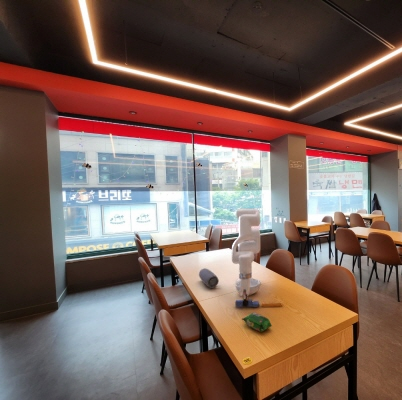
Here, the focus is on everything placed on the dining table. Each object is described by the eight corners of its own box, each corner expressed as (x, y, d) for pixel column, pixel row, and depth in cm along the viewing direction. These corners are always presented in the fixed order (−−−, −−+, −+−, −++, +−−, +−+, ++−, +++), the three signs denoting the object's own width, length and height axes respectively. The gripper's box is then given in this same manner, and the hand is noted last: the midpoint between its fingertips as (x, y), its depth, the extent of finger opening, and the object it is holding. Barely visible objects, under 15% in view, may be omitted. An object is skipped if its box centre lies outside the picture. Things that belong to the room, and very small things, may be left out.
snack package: (250, 318, 123) (250, 309, 123) (272, 328, 113) (272, 318, 113) (241, 324, 118) (240, 314, 118) (263, 335, 108) (263, 324, 108)
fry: (261, 306, 137) (261, 303, 137) (261, 305, 139) (261, 302, 139) (281, 306, 137) (281, 303, 137) (281, 304, 139) (281, 301, 139)
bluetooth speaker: (219, 287, 166) (219, 274, 166) (206, 290, 161) (206, 276, 161) (209, 278, 185) (209, 266, 185) (198, 281, 180) (198, 268, 180)
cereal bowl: (250, 286, 169) (250, 276, 169) (265, 292, 157) (265, 282, 157) (231, 293, 157) (230, 282, 157) (245, 300, 145) (245, 289, 145)
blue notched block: (235, 307, 134) (235, 302, 134) (236, 304, 139) (236, 299, 139) (259, 307, 135) (259, 301, 135) (259, 303, 140) (259, 298, 140)
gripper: (240, 271, 145) (241, 299, 145) (237, 279, 129) (237, 312, 129) (252, 270, 145) (252, 299, 145) (250, 279, 129) (250, 311, 129)
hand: (245, 305), depth 137 cm, fingers closed on blue notched block, 2 cm apart
